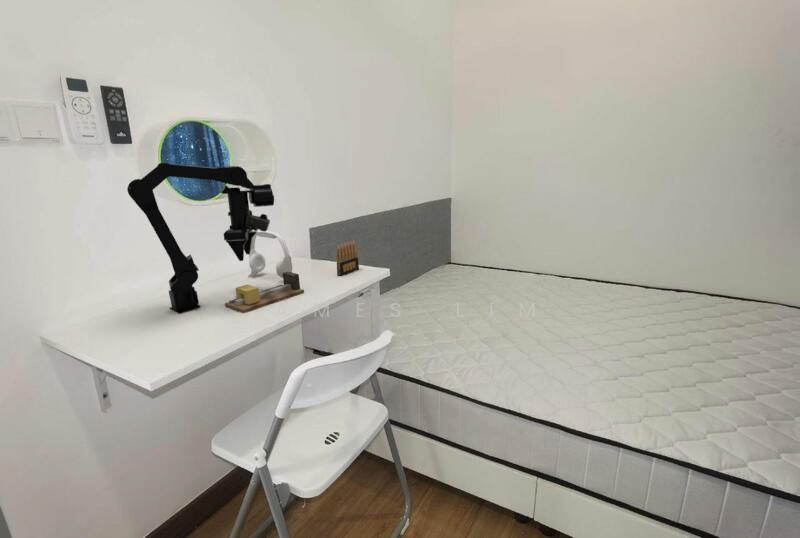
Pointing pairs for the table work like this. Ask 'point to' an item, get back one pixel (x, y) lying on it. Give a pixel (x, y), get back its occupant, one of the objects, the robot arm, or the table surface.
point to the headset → (259, 261)
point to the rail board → (264, 301)
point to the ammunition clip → (347, 259)
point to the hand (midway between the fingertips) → (244, 257)
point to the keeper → (248, 293)
